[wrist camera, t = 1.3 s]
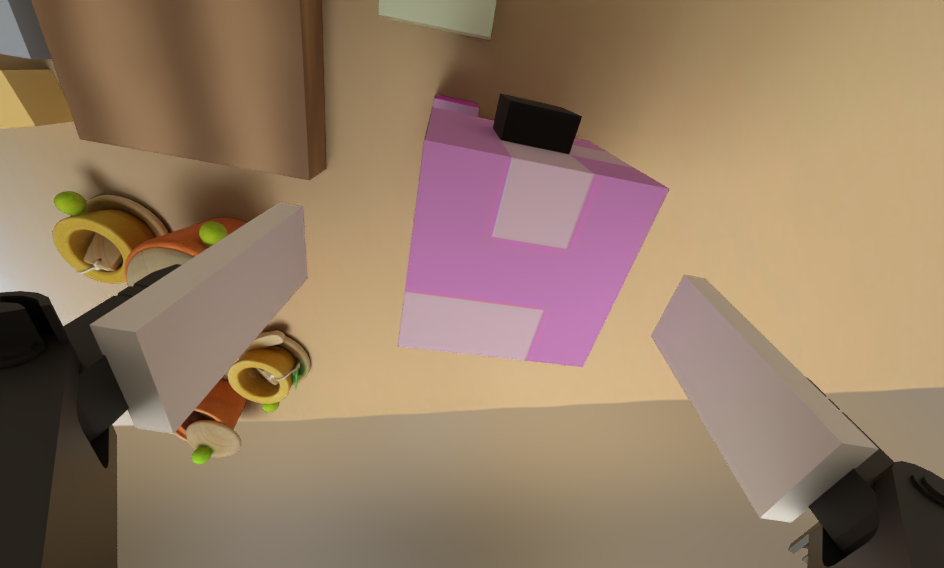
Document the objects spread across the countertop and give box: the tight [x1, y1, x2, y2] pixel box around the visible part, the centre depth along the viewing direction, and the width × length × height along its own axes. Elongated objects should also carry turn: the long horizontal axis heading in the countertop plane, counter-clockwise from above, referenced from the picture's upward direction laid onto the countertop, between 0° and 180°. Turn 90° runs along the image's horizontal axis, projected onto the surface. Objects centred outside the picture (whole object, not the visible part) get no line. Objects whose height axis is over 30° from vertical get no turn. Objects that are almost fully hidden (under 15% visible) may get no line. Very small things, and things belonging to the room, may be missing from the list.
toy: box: [398, 94, 669, 367], centre depth 20 cm, size 11×8×15 cm
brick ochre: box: [0, 69, 74, 129], centre depth 23 cm, size 6×3×3 cm, turn 93°
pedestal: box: [31, 0, 326, 180], centre depth 21 cm, size 14×12×3 cm
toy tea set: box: [52, 191, 310, 464], centre depth 30 cm, size 26×16×10 cm, turn 2°
